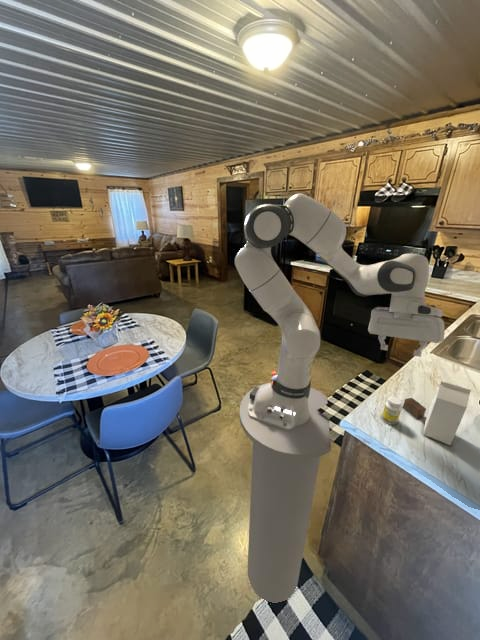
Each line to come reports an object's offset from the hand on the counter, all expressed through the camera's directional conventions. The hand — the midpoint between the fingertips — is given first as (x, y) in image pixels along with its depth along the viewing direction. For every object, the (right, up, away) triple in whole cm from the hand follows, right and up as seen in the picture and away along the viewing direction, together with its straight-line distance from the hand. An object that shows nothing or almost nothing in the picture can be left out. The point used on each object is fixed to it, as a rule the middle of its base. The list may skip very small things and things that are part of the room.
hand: (399, 353), depth 80 cm
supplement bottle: (+3, -25, +11) cm, 27 cm away
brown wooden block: (+13, -23, +14) cm, 30 cm away
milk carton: (+15, -27, +5) cm, 32 cm away
